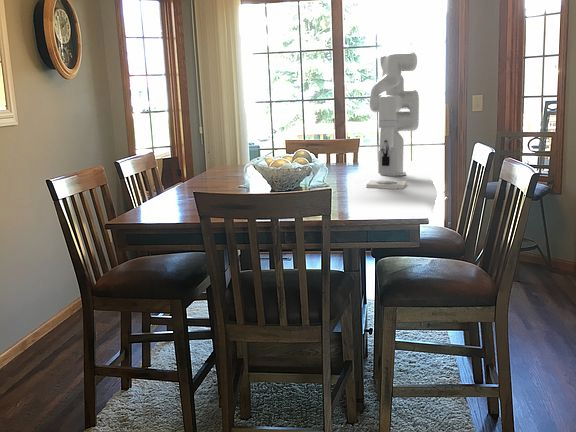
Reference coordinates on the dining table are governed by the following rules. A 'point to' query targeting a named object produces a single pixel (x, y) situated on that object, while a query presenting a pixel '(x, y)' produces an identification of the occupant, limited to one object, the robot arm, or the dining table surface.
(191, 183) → the dining table surface
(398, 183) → the tile
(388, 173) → the can
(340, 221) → the dining table surface
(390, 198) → the dining table surface
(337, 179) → the dining table surface
